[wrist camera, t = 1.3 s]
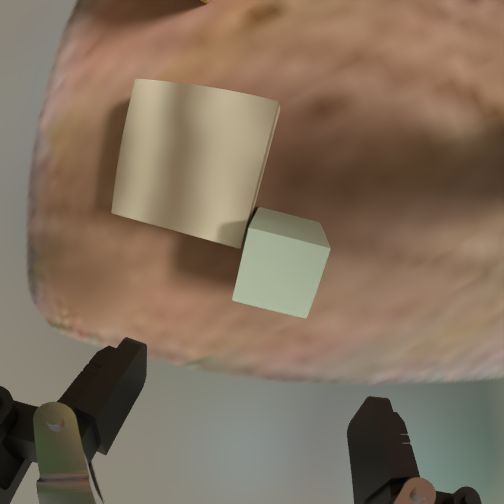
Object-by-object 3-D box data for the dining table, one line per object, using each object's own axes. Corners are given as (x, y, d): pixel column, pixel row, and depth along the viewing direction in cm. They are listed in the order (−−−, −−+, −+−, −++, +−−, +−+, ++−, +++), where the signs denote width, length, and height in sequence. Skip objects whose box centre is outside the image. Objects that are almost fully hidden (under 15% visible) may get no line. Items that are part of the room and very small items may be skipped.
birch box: (280, 109, 23) (278, 101, 19) (248, 230, 27) (240, 248, 22) (160, 88, 24) (135, 78, 19) (138, 201, 27) (111, 213, 23)
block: (320, 222, 26) (330, 248, 19) (302, 278, 28) (306, 318, 21) (258, 206, 26) (248, 227, 19) (245, 263, 28) (231, 300, 21)
